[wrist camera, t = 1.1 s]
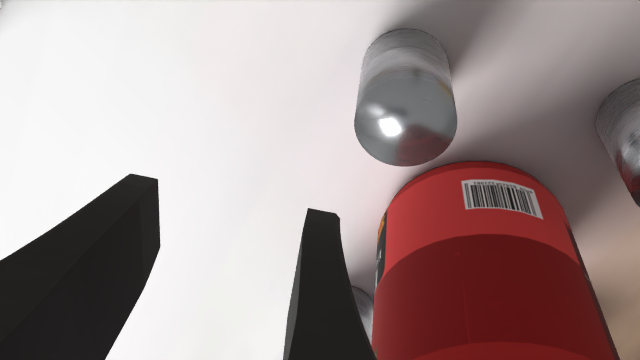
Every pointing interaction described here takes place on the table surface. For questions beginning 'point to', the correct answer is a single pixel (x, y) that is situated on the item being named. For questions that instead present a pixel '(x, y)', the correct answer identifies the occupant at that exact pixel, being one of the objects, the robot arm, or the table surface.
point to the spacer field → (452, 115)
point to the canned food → (482, 272)
